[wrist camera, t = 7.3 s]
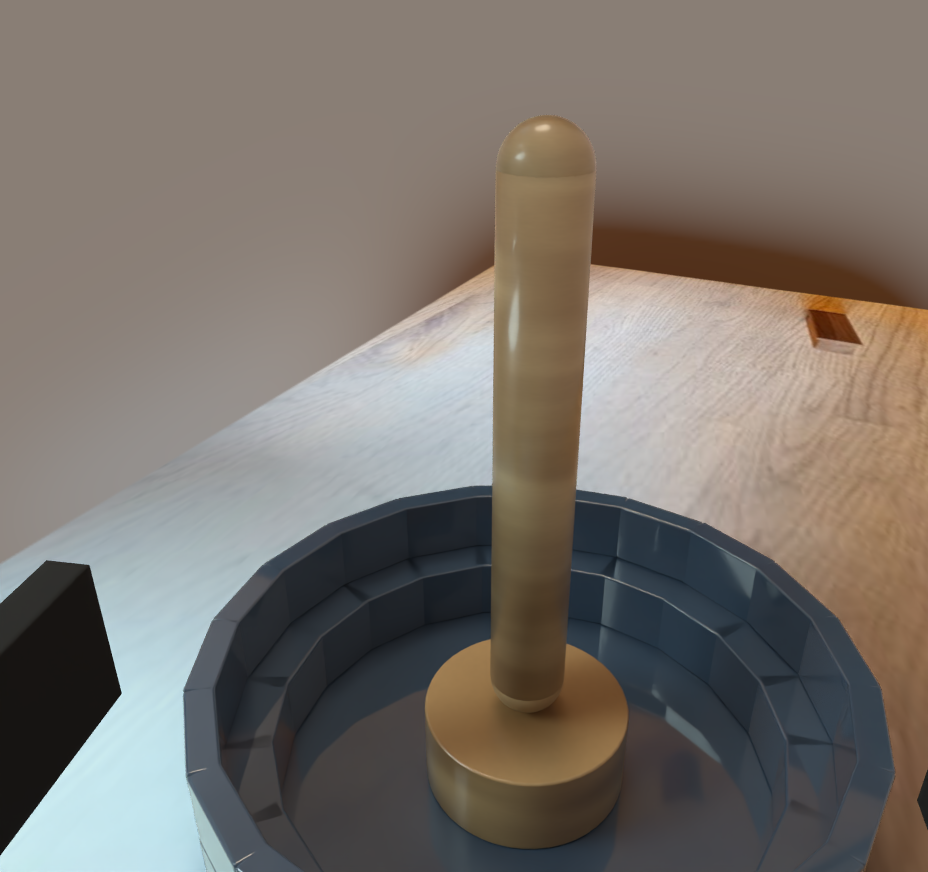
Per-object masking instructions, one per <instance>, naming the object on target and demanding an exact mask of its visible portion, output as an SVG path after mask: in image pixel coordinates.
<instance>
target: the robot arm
mask: <svg viewBox="0 0 928 872" xmlns="http://www.w3.org/2000/svg"><path fill="white" fill-rule="evenodd" d="M121 694H122V693H121V689H120V685H119V681H118V677H117V673H116V669H115V665H114V661H113V657H112V653H111V649H110V645H109V641H108V637H107V633H106V629H105V625H104V621H103V617H102V613H101V609H100V606H99V602H98V598H97V594H96V590H95V586H94V582H93V578H92V574H91V570H90V566H89V565H84V564H75V563H66V562H56V561H47V560H46V561H45V562H44V563H43V564H42V565H41V566H40V567H39V568H38V569H37V570H36V571H35V572H34V573H33V574H32V575H30V576H29V577H28V578H27V579H26V580H25V581H24V582H23V583H22V584H21V585H20V586H19V587H18V588H17V589H15V590H14V591H13V592H12V593H11V594H10V595H9V596H8V597H7V598H6V599H5V600H4V601H3V602H2V603H0V855H1V854H2V853H3V851H4V850H5V849H6V847H7V846H8V845H9V843H10V842H11V841H12V839H13V838H14V837H15V835H16V834H17V833H18V831H19V830H20V829H21V827H22V826H23V825H24V823H25V822H26V821H27V819H28V818H29V817H30V815H31V814H32V813H33V811H34V810H35V809H36V807H37V806H38V805H39V803H40V802H41V801H42V799H43V798H44V797H45V795H46V794H47V793H48V791H49V790H50V789H51V787H52V786H53V785H54V783H55V782H56V781H57V779H58V778H59V777H60V775H61V774H62V773H63V771H64V770H65V768H66V767H67V766H68V764H69V763H70V762H71V760H72V759H73V758H74V756H75V755H76V754H77V752H78V751H79V750H80V748H81V747H82V746H83V744H84V743H85V742H86V740H87V739H88V738H89V736H90V735H91V734H92V732H93V731H94V730H95V728H96V727H97V726H98V724H99V723H100V722H101V720H102V719H103V718H104V716H105V715H106V714H107V712H108V711H109V710H110V708H111V707H112V706H113V704H114V703H115V702H116V700H117V699H118V698H119V696H120V695H121ZM917 801H918V804H919V807H920V810H921V812H922V815H923V818H924V821H925V823H926V826H927V829H928V770H927V773H926V776H925V779H924V782H923V785H922V788H921V791H920V794H919V797H918V799H917Z"/></svg>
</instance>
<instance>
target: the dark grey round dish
mask: <svg viewBox="0 0 928 872" xmlns="http://www.w3.org/2000/svg"><path fill="white" fill-rule="evenodd" d="M491 558H492V486H469V487H463V488H457V489H451V490H445V491H439V492H433V493H427V494H421V495H415V496H410V497H404V498H399V499H395V500H392V501H389V502H387V503H384V504H381V505H378V506H375V507H373V508H370V509H367V510H364V511H362V512H359V513H356V514H353V515H351V516H348V517H345V518H342V519H340V520H337V521H334V522H331V523H329V524H327V525H325V526H323V527H322V528H320V529H319V530H317V531H315V532H314V533H312V534H311V535H309V536H308V537H306V538H304V539H303V540H301V541H300V542H298V543H296V544H295V545H293V546H292V547H290V548H288V549H287V550H285V551H284V552H282V553H281V554H279V555H277V556H276V557H274V558H273V559H271V560H269V561H268V562H266V563H265V564H264V565H262V566H261V567H260V568H259V569H258V570H257V572H256V573H255V574H254V575H253V576H252V577H251V578H250V579H249V580H248V581H247V582H246V584H245V585H244V586H243V587H242V588H241V589H240V590H239V591H238V592H237V593H236V595H235V596H234V597H233V598H232V599H231V600H230V601H229V602H228V603H227V604H226V605H225V607H224V608H223V609H222V610H221V611H220V612H219V613H218V614H217V615H216V616H215V618H214V619H213V620H212V622H211V625H210V627H209V629H208V632H207V634H206V637H205V639H204V642H203V644H202V646H201V649H200V651H199V654H198V656H197V658H196V661H195V663H194V666H193V668H192V671H191V673H190V675H189V678H188V680H187V683H186V685H185V687H184V690H183V692H184V694H183V714H184V743H185V771H186V780H187V784H188V789H189V793H190V798H191V802H192V807H193V811H194V816H195V821H196V825H197V830H198V834H199V840H200V845H201V849H202V854H203V858H204V863H205V867H206V872H865V870H866V867H867V864H868V860H869V857H870V854H871V851H872V848H873V845H874V842H875V839H876V835H877V832H878V829H879V826H880V823H881V820H882V817H883V814H884V810H885V807H886V804H887V801H888V798H889V795H890V792H891V788H892V785H893V782H894V779H895V767H894V761H893V754H892V748H891V742H890V736H889V730H888V724H887V718H886V712H885V706H884V700H883V694H882V689H881V687H880V685H879V683H878V682H877V680H876V678H875V677H874V675H873V674H872V672H871V670H870V669H869V667H868V665H867V664H866V662H865V661H864V659H863V657H862V656H861V654H860V653H859V651H858V649H857V648H856V646H855V644H854V643H853V641H852V640H851V638H850V636H849V635H848V633H847V632H846V630H845V628H844V627H843V625H842V623H841V622H840V620H839V619H838V617H836V616H835V615H834V614H833V613H832V612H831V611H830V610H829V609H828V608H827V607H825V606H824V605H823V604H822V603H821V602H820V601H819V600H818V599H816V598H815V597H814V596H813V595H812V594H811V593H810V592H809V591H807V590H806V589H805V588H804V587H803V586H802V585H801V584H800V583H798V582H797V581H796V580H795V579H794V578H793V577H792V576H791V575H789V574H788V573H787V572H786V571H785V570H784V569H783V568H782V567H780V566H779V565H778V564H777V563H775V561H773V560H772V559H770V558H768V557H766V556H764V555H763V554H761V553H759V552H757V551H755V550H753V549H752V548H750V547H748V546H746V545H744V544H742V543H741V542H739V541H737V540H735V539H733V538H732V537H730V536H728V535H726V534H724V533H722V532H721V531H719V530H717V529H715V528H713V527H712V526H710V525H708V524H706V523H702V522H700V521H697V520H694V519H691V518H688V517H685V516H682V515H679V514H676V513H673V512H670V511H666V510H663V509H660V508H657V507H654V506H651V505H648V504H645V503H642V502H639V501H636V500H633V499H630V498H628V499H627V498H626V497H621V496H615V495H608V494H602V493H595V492H589V491H582V490H576V500H575V515H574V531H573V547H572V563H571V579H570V595H569V611H568V626H567V642H566V644H569V645H572V646H574V647H576V648H578V649H580V650H583V651H584V652H586V653H588V654H589V655H591V656H593V657H594V658H595V659H597V660H598V661H599V662H601V663H602V664H603V665H604V666H605V667H606V668H607V669H608V670H609V671H610V672H611V673H612V674H613V676H614V677H615V678H616V679H617V681H618V683H619V684H620V686H621V688H622V690H623V692H624V695H625V697H626V700H627V705H628V709H629V723H628V732H627V741H626V750H625V759H624V768H623V777H622V784H621V790H620V793H619V796H618V799H617V801H616V803H615V805H614V807H613V809H612V810H611V811H610V813H609V814H608V815H607V817H606V818H605V819H604V820H603V821H602V822H601V823H600V824H599V825H598V826H597V827H596V828H594V829H593V830H591V831H590V832H589V833H587V834H586V835H584V836H582V837H580V838H578V839H576V840H574V841H571V842H569V843H566V844H563V845H559V846H555V847H550V848H542V849H519V848H510V847H505V846H501V845H497V844H494V843H491V842H488V841H486V840H483V839H481V838H479V837H477V836H475V835H473V834H471V833H469V832H468V831H466V830H465V829H463V828H462V827H460V826H459V825H458V824H457V823H456V822H454V821H453V820H452V819H451V818H450V817H449V816H448V815H447V813H446V812H445V811H444V810H443V809H442V808H441V806H440V804H439V803H438V801H437V800H436V798H435V796H434V794H433V792H432V789H431V787H430V783H429V779H428V773H427V757H426V730H425V698H426V694H427V690H428V688H429V685H430V683H431V681H432V679H433V677H434V676H435V674H436V673H437V671H438V670H439V669H440V668H441V667H442V665H443V664H444V663H445V662H446V661H448V660H449V659H450V658H451V657H452V656H454V655H455V654H457V653H458V652H460V651H461V650H463V649H465V648H467V647H469V646H471V645H474V644H476V643H479V642H482V641H486V640H489V639H491Z"/></svg>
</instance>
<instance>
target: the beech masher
mask: <svg viewBox="0 0 928 872" xmlns="http://www.w3.org/2000/svg"><path fill="white" fill-rule="evenodd" d="M595 182H596V157H595V152H594V149H593V146H592V144H591V142H590V139H589V138H588V137H587V135H586V134H585V133H584V131H583V130H582V129H581V128H579V127H578V126H577V125H576V124H575V123H573V122H571V121H570V120H568V119H565V118H562V117H559V116H555V115H540V116H536V117H533V118H529V119H527V120H525V121H523V122H522V123H520V124H519V125H517V126H516V127H515V128H514V129H513V130H512V131H511V132H510V133H509V134H508V135H507V137H506V138H505V139H504V141H503V143H502V145H501V147H500V149H499V152H498V156H497V161H496V188H495V189H496V193H495V281H494V373H493V466H492V558H491V639H489V640H486V641H482V642H479V643H476V644H474V645H471V646H469V647H467V648H465V649H463V650H461V651H460V652H458V653H457V654H455V655H454V656H452V657H451V658H450V659H449V660H448V661H446V662H445V663H444V664H443V665H442V667H441V668H440V669H439V670H438V671H437V673H436V674H435V676H434V677H433V679H432V681H431V683H430V685H429V688H428V690H427V694H426V698H425V730H426V757H427V773H428V779H429V783H430V787H431V789H432V792H433V794H434V796H435V798H436V800H437V801H438V803H439V804H440V806H441V808H442V809H443V810H444V811H445V812H446V813H447V815H448V816H449V817H450V818H451V819H452V820H453V821H454V822H456V823H457V824H458V825H459V826H460V827H462V828H463V829H465V830H466V831H468V832H469V833H471V834H473V835H475V836H477V837H479V838H481V839H483V840H486V841H488V842H491V843H494V844H497V845H501V846H505V847H510V848H519V849H542V848H550V847H555V846H559V845H563V844H566V843H569V842H571V841H574V840H576V839H578V838H580V837H582V836H584V835H586V834H587V833H589V832H590V831H591V830H593V829H594V828H596V827H597V826H598V825H599V824H600V823H601V822H602V821H603V820H604V819H605V818H606V817H607V815H608V814H609V813H610V811H611V810H612V809H613V807H614V805H615V803H616V801H617V799H618V796H619V793H620V790H621V784H622V777H623V768H624V759H625V750H626V741H627V732H628V723H629V709H628V705H627V700H626V697H625V695H624V692H623V690H622V688H621V686H620V684H619V683H618V681H617V679H616V678H615V677H614V676H613V674H612V673H611V672H610V671H609V670H608V669H607V668H606V667H605V666H604V665H603V664H602V663H601V662H599V661H598V660H597V659H595V658H594V657H593V656H591V655H589V654H588V653H586V652H584V651H583V650H580V649H578V648H576V647H574V646H572V645H569V644H566V642H567V626H568V611H569V595H570V579H571V563H572V547H573V531H574V515H575V500H576V484H577V468H578V452H579V436H580V420H581V405H582V389H583V373H584V357H585V341H586V325H587V309H588V294H589V278H590V262H591V246H592V229H593V213H594V198H595Z"/></svg>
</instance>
